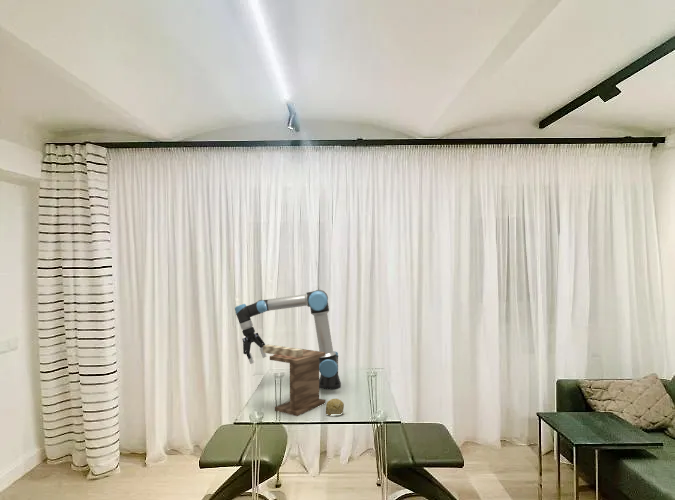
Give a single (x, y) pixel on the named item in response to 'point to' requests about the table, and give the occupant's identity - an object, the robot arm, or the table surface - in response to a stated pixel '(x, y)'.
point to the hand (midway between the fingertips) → (258, 360)
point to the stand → (302, 382)
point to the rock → (334, 406)
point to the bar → (283, 351)
